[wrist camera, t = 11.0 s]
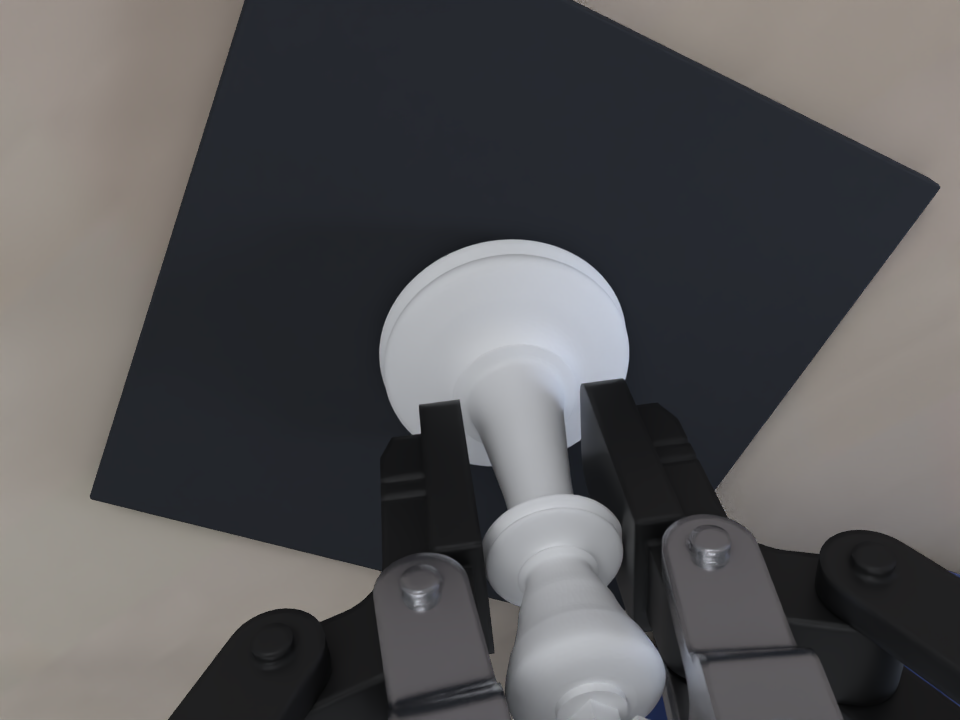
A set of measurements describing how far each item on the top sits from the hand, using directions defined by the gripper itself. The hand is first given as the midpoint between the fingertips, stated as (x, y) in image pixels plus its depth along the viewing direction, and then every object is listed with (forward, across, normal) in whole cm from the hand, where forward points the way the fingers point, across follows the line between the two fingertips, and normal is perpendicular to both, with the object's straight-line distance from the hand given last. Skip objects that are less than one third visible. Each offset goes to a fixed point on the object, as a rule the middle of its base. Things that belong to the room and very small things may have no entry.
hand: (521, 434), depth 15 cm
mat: (+3, 0, 0) cm, 3 cm away
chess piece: (+3, 0, 0) cm, 3 cm away
